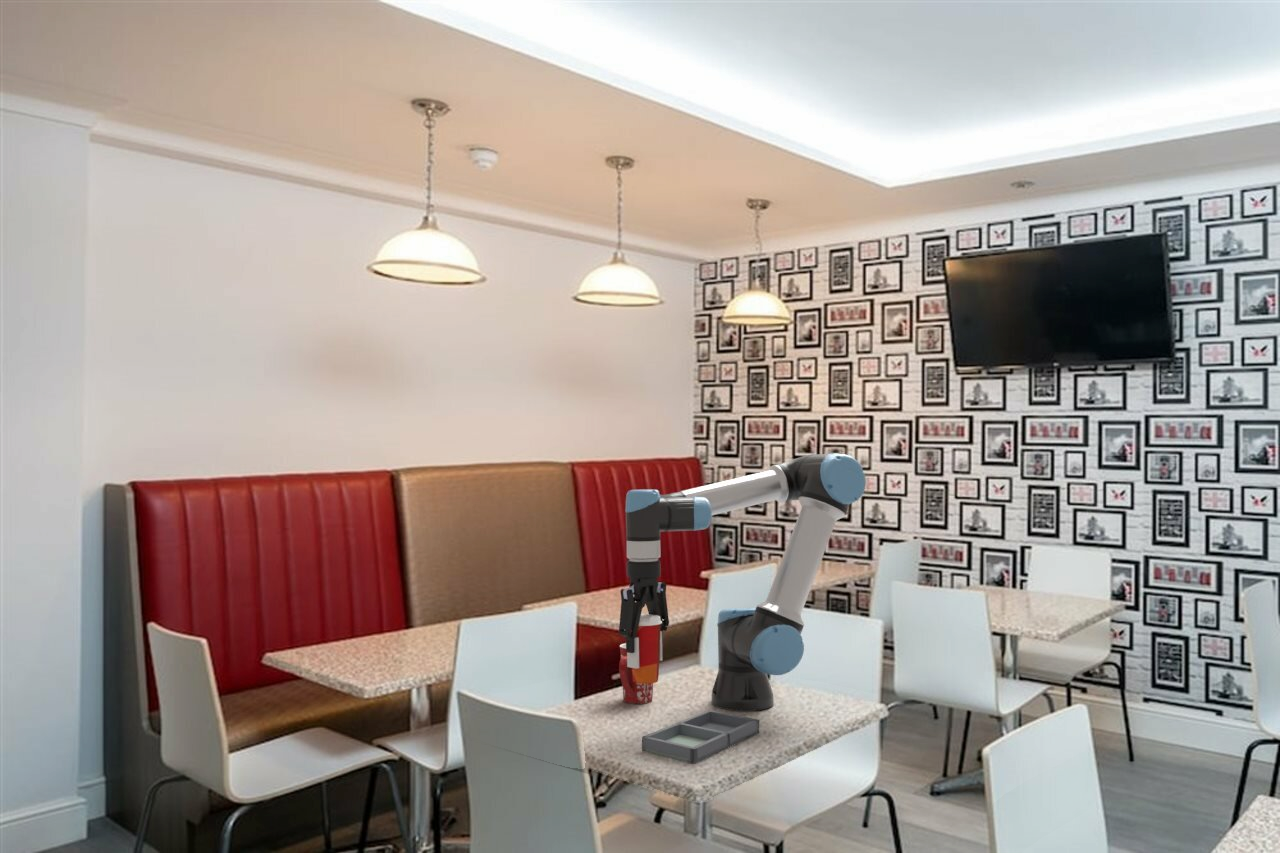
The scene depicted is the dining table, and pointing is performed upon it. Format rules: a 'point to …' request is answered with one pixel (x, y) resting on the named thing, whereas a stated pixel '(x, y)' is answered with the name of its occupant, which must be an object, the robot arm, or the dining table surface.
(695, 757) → the cup carrier
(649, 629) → the paper cup
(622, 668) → the mug
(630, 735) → the dining table surface
